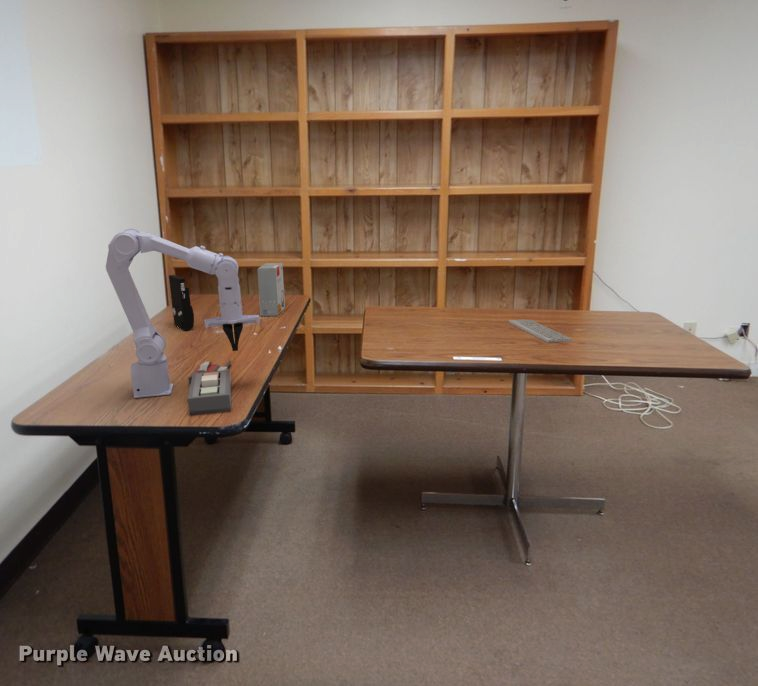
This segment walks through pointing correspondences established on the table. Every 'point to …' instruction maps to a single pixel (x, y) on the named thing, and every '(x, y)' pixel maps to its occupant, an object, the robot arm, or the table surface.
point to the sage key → (209, 390)
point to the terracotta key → (212, 374)
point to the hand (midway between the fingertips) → (235, 349)
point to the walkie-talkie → (209, 368)
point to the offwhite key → (209, 381)
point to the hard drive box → (271, 289)
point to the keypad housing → (213, 401)
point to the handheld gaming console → (181, 303)
